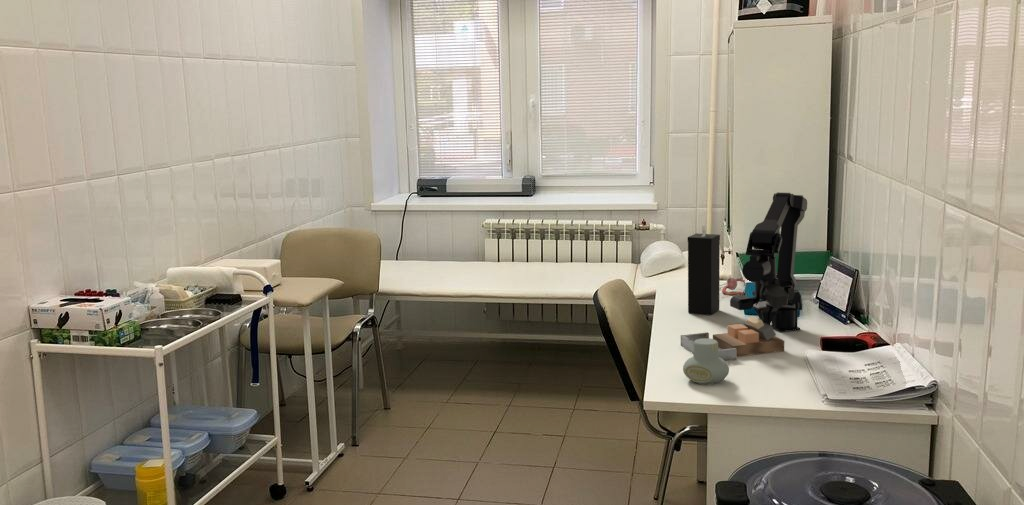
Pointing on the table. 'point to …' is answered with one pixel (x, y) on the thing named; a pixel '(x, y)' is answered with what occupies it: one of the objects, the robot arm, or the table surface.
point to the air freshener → (705, 363)
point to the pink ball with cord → (732, 286)
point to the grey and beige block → (760, 328)
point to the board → (749, 345)
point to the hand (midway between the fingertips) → (766, 329)
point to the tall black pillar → (703, 273)
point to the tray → (689, 339)
